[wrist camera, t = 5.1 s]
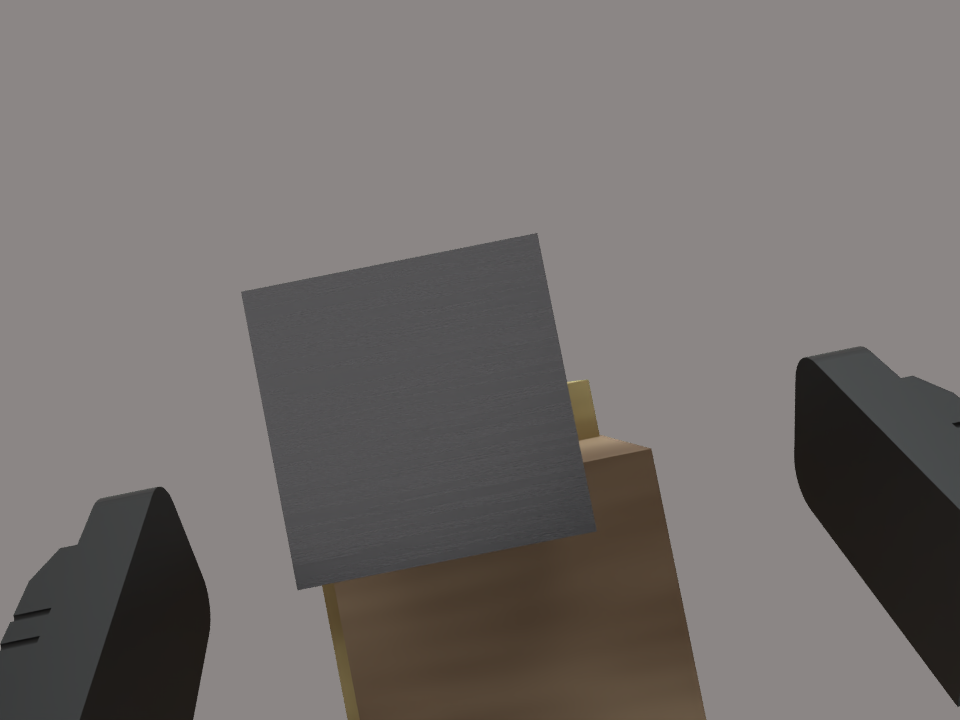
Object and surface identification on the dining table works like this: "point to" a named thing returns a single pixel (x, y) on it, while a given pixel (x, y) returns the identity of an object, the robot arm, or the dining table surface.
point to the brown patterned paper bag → (531, 617)
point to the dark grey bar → (418, 411)
